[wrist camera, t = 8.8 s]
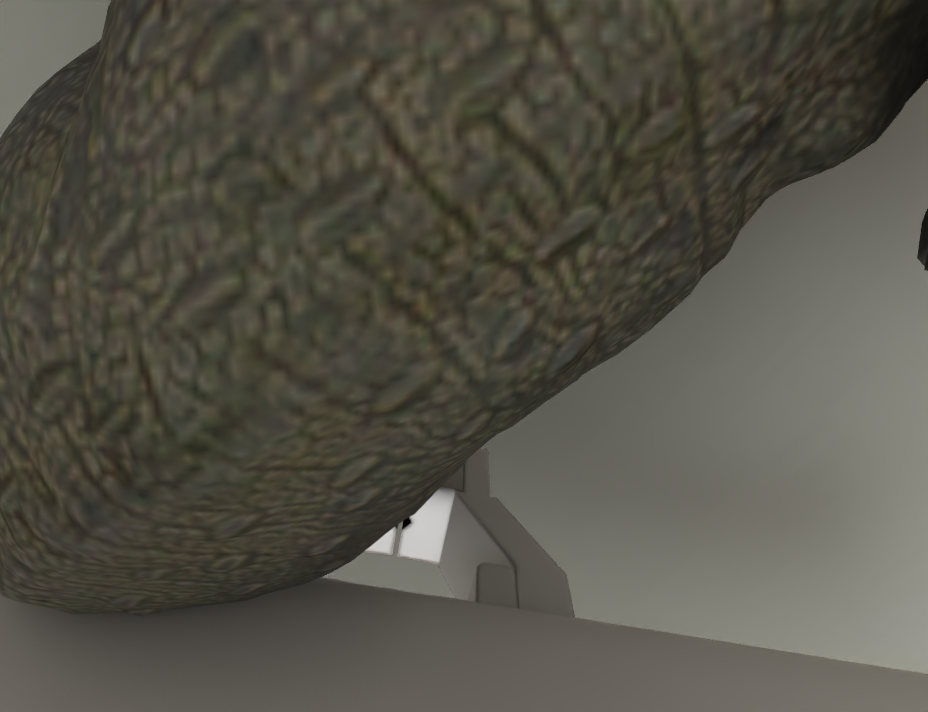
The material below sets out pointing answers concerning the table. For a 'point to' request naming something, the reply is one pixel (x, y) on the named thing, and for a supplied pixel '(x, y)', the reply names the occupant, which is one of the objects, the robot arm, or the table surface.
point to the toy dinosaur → (367, 253)
